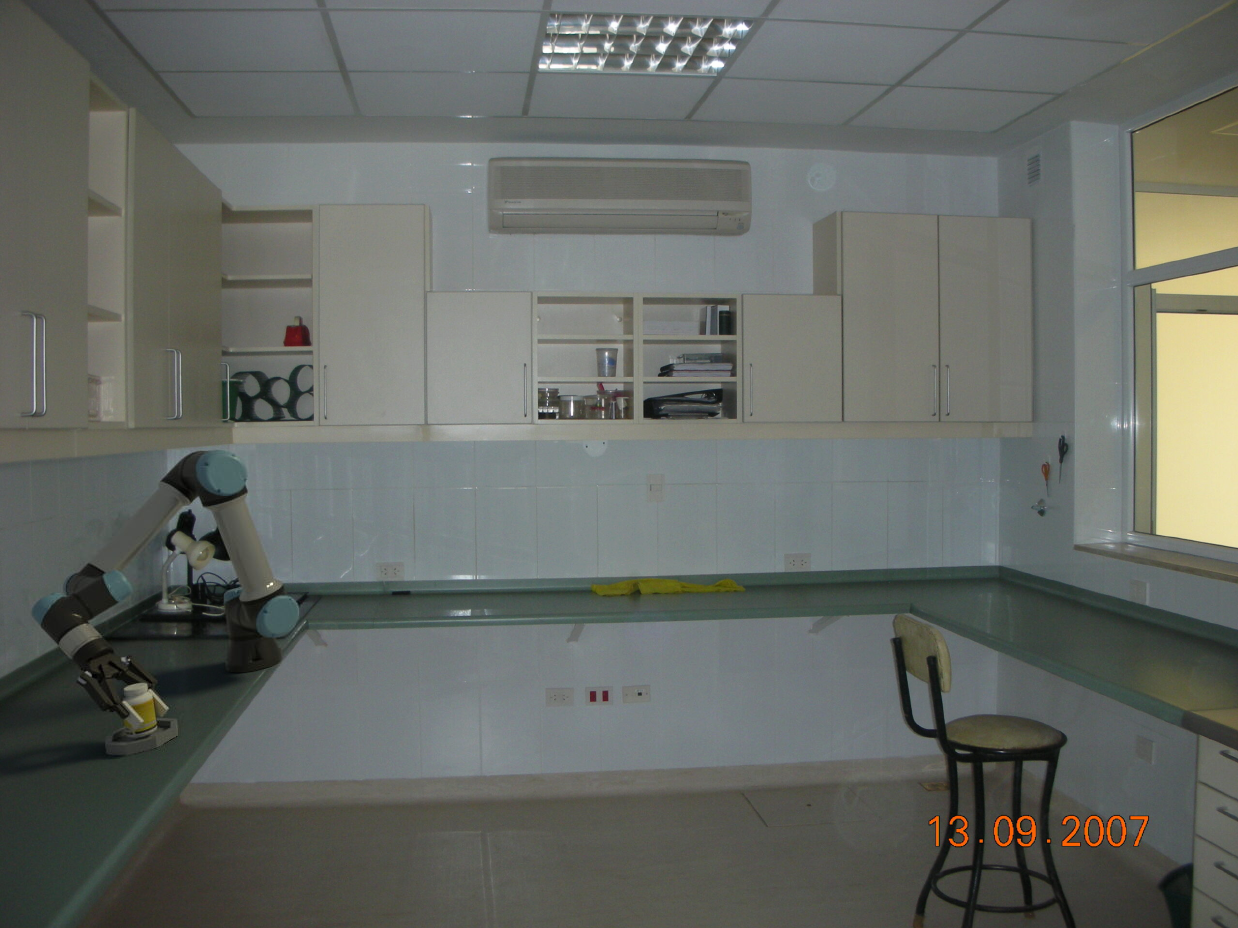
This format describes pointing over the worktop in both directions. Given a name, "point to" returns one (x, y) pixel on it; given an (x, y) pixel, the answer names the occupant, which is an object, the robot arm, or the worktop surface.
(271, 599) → the robot arm
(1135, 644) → the worktop surface
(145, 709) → the pill bottle
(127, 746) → the octagonal tray
